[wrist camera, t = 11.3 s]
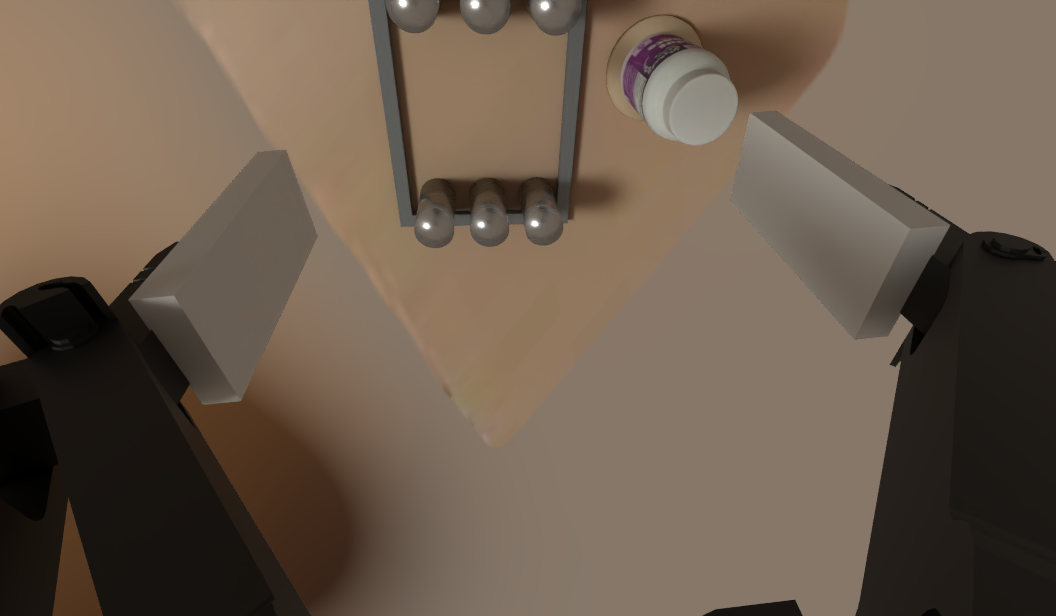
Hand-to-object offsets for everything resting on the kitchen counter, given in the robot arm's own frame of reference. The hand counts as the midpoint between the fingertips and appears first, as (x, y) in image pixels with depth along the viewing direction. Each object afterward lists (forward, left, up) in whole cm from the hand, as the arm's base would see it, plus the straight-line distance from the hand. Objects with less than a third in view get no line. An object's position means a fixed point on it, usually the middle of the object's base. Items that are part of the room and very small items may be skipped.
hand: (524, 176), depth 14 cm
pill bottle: (+2, +12, -24) cm, 27 cm away
